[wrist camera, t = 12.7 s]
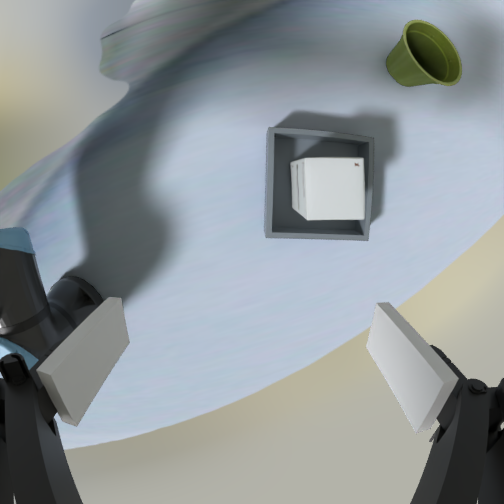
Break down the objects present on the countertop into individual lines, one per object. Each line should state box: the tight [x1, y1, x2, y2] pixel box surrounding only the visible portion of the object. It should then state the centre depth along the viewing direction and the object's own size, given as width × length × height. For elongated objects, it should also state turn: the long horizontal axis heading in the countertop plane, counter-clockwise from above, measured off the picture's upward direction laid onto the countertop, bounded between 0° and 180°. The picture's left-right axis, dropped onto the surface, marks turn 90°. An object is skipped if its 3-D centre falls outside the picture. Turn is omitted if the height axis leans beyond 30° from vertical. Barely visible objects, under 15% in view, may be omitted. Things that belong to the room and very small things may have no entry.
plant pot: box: [386, 20, 462, 87], centre depth 31 cm, size 12×12×11 cm
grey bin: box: [264, 127, 374, 241], centre depth 40 cm, size 16×16×5 cm
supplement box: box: [290, 157, 365, 220], centre depth 36 cm, size 7×7×13 cm
